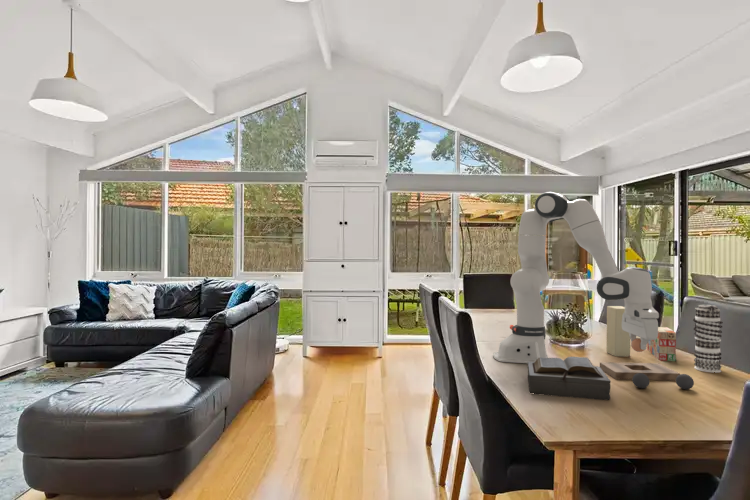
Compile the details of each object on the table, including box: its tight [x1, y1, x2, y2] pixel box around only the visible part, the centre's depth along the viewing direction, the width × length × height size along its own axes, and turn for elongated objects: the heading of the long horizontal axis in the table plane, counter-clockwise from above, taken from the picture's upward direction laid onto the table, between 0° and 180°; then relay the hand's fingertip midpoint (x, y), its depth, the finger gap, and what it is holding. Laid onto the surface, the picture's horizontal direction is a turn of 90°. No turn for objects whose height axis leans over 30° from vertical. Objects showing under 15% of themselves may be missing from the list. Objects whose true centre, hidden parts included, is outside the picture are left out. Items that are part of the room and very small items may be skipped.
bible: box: [527, 356, 611, 401], centre depth 152 cm, size 23×27×10 cm
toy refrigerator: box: [606, 305, 631, 357], centre depth 199 cm, size 8×7×21 cm
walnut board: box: [599, 361, 681, 381], centre depth 168 cm, size 22×14×2 cm, turn 85°
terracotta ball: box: [630, 337, 647, 353], centre depth 168 cm, size 5×5×5 cm
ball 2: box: [675, 373, 695, 390], centre depth 150 cm, size 5×5×5 cm
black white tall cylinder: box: [692, 304, 723, 374], centre depth 174 cm, size 9×9×25 cm
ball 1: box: [631, 373, 651, 389], centre depth 152 cm, size 5×5×5 cm
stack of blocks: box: [646, 326, 677, 362], centre depth 198 cm, size 21×6×12 cm, turn 161°
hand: (638, 347), depth 168 cm, fingers closed on terracotta ball, 5 cm apart
